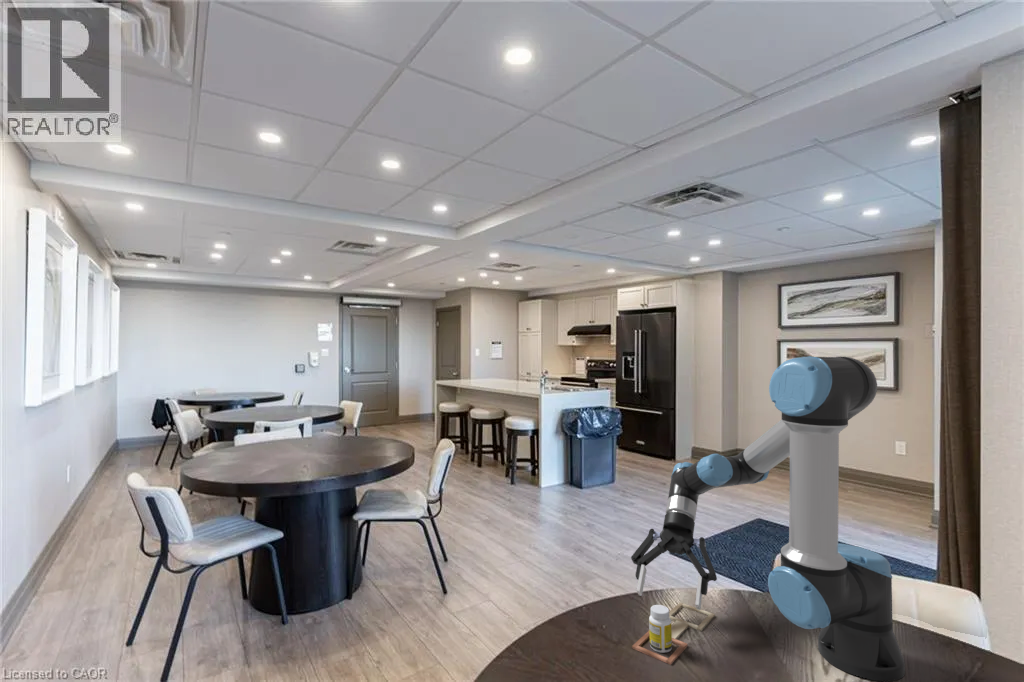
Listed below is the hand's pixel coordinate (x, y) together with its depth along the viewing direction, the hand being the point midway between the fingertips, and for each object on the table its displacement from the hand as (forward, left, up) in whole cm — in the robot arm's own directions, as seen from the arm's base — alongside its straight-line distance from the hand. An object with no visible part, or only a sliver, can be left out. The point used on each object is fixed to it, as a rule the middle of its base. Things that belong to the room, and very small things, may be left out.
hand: (667, 600), depth 117 cm
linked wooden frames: (-1, -1, -7) cm, 7 cm away
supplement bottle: (-2, +7, -7) cm, 11 cm away
